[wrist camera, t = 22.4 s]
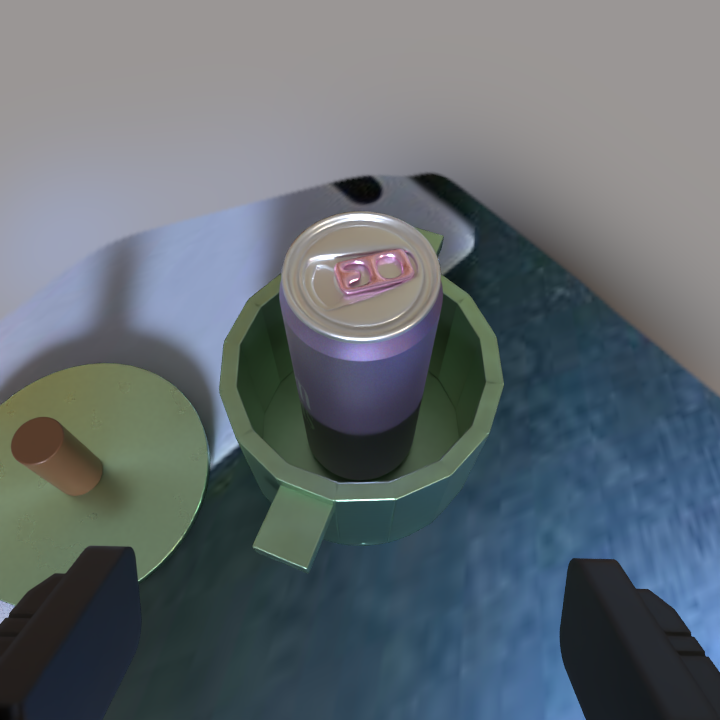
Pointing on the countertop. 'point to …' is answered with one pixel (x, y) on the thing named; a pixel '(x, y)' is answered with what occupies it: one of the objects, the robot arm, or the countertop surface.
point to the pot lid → (96, 471)
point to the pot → (335, 493)
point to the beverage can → (360, 336)
